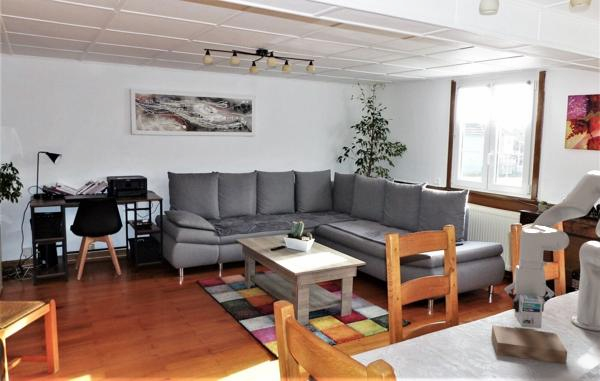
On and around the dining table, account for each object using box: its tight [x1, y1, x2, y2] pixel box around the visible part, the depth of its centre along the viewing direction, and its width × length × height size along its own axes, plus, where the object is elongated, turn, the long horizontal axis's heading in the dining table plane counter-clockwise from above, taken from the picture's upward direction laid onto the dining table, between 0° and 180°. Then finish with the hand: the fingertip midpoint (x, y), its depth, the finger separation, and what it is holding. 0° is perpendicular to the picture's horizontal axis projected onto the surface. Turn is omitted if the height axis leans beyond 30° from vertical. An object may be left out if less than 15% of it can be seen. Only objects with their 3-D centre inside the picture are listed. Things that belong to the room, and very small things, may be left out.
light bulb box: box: [514, 295, 543, 329], centre depth 167 cm, size 11×7×11 cm, turn 168°
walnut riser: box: [491, 325, 568, 365], centre depth 153 cm, size 20×14×4 cm
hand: (527, 311), depth 167 cm, fingers closed on light bulb box, 7 cm apart
